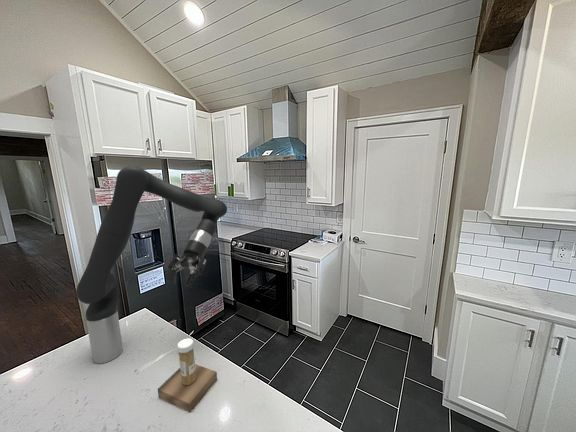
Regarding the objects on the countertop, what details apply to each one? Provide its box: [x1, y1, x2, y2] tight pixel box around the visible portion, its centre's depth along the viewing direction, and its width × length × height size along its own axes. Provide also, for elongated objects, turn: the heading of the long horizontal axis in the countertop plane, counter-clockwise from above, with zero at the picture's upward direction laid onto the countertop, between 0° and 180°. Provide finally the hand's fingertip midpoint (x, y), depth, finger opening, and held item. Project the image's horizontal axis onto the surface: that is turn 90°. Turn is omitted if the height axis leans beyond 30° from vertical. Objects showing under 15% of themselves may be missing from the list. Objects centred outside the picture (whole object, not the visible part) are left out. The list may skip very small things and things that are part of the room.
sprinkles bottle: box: [177, 338, 196, 385], centre depth 74 cm, size 5×5×13 cm
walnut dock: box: [157, 363, 218, 413], centre depth 75 cm, size 13×12×3 cm
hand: (177, 283), depth 82 cm, fingers open, 8 cm apart
